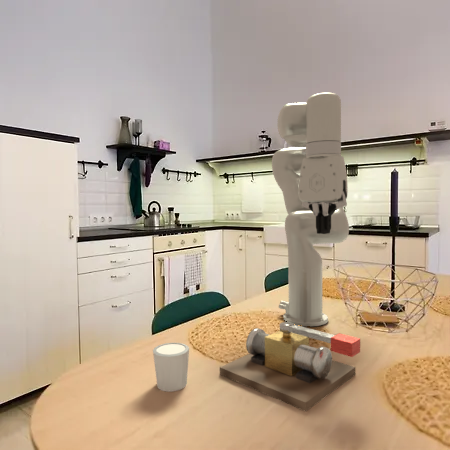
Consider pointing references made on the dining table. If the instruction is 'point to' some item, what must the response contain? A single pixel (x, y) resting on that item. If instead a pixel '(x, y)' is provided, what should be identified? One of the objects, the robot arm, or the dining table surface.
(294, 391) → the valve board
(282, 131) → the robot arm
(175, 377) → the white cup
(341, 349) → the valve lever
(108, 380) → the dining table surface
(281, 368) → the valve pipe
